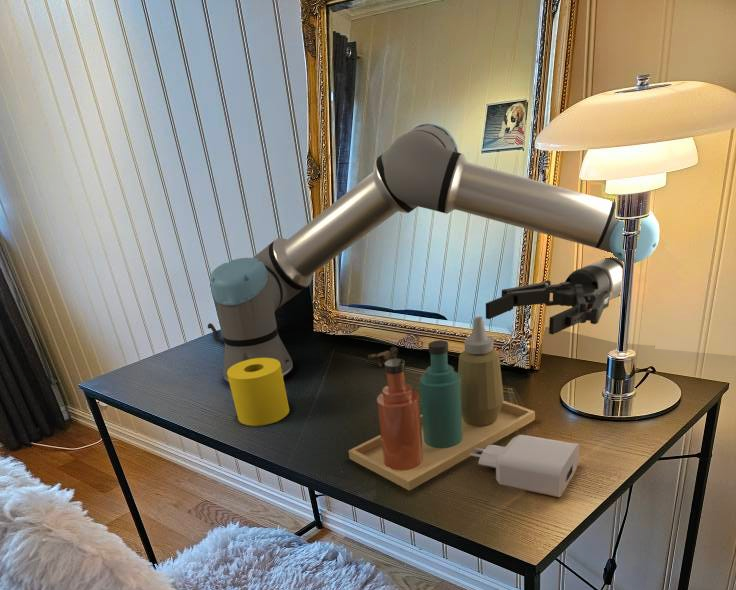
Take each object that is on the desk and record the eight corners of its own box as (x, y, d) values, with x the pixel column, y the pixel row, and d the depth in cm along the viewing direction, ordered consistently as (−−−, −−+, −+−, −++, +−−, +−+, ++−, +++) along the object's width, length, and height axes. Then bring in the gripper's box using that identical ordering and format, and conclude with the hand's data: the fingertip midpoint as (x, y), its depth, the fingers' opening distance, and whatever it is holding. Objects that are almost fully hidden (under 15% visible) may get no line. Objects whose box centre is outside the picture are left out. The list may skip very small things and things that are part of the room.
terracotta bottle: (375, 461, 105) (364, 364, 96) (404, 446, 108) (396, 351, 99) (401, 474, 101) (392, 374, 92) (431, 458, 104) (425, 360, 95)
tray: (349, 461, 107) (348, 450, 106) (471, 399, 121) (471, 389, 120) (409, 493, 97) (408, 481, 96) (535, 422, 111) (535, 411, 110)
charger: (484, 451, 105) (577, 468, 98) (460, 480, 99) (558, 500, 92) (484, 425, 102) (580, 441, 95) (459, 452, 96) (560, 471, 89)
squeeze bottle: (503, 430, 109) (503, 325, 99) (454, 430, 111) (450, 327, 101) (504, 408, 116) (504, 308, 106) (458, 409, 117) (455, 310, 107)
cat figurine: (398, 367, 137) (393, 349, 135) (367, 371, 141) (362, 353, 140) (404, 362, 139) (399, 344, 137) (373, 366, 143) (368, 348, 141)
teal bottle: (416, 440, 109) (408, 345, 100) (443, 426, 113) (438, 333, 103) (443, 452, 105) (438, 354, 96) (470, 437, 108) (468, 341, 99)
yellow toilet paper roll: (268, 398, 132) (259, 354, 127) (299, 410, 126) (291, 364, 121) (228, 417, 127) (216, 371, 121) (258, 430, 120) (247, 383, 115)
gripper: (653, 318, 113) (579, 356, 103) (537, 295, 130) (464, 326, 120) (659, 274, 109) (583, 309, 99) (539, 256, 126) (463, 285, 116)
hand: (517, 318), depth 110 cm, fingers open, 13 cm apart
